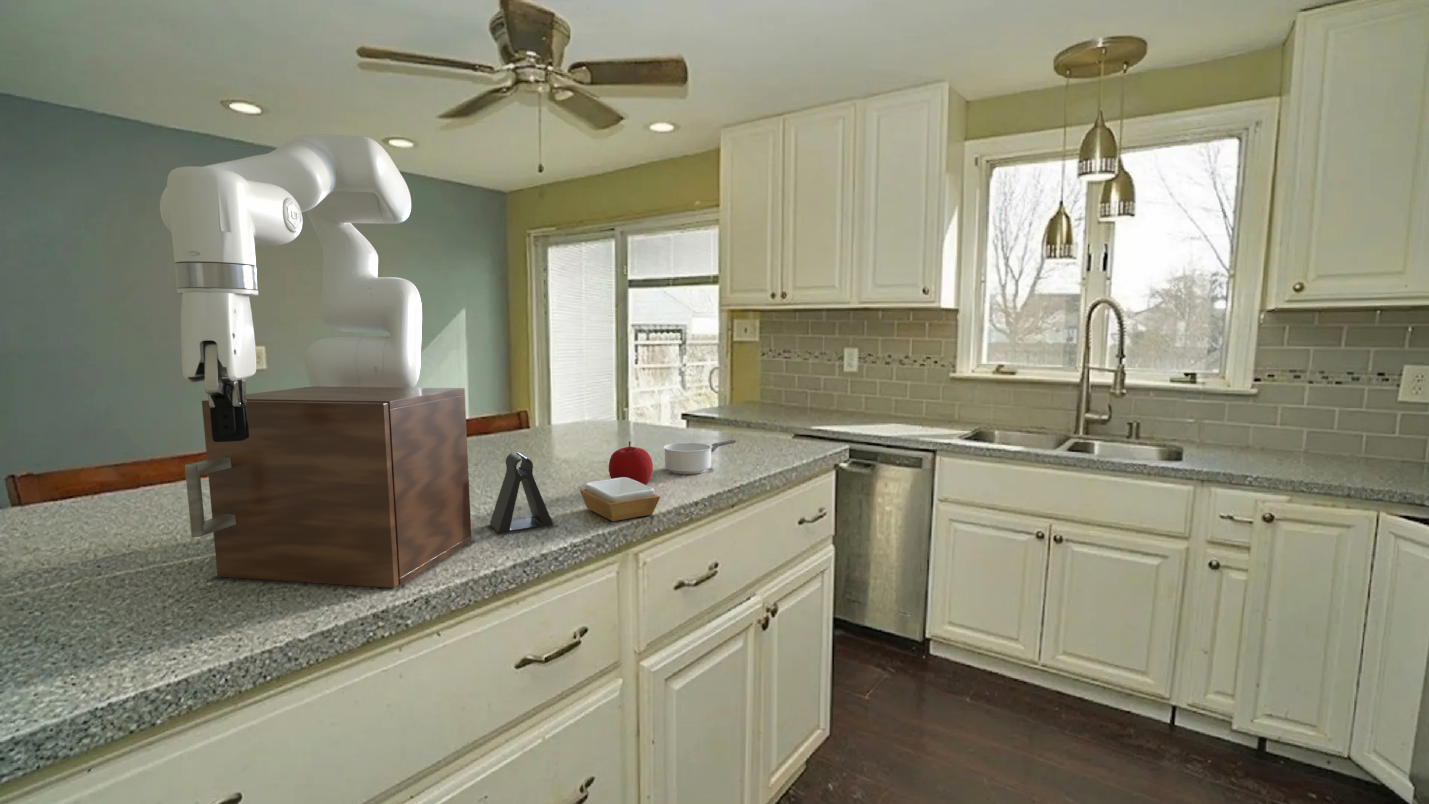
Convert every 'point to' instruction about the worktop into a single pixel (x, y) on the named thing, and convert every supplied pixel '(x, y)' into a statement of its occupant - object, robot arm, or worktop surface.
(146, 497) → the worktop surface
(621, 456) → the apple
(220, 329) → the robot arm
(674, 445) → the saucepan
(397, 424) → the cupboard
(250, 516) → the cupboard door
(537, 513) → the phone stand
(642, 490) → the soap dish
